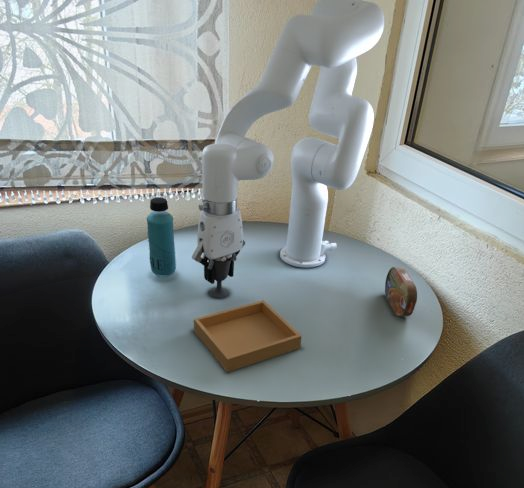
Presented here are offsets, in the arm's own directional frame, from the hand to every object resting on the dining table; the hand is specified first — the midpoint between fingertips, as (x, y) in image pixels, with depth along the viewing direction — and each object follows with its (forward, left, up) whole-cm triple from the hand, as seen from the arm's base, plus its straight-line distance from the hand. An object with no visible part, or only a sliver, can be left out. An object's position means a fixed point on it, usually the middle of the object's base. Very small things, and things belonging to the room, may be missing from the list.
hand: (219, 277), depth 123 cm
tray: (0, +20, -4) cm, 20 cm away
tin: (-40, +17, -5) cm, 44 cm away
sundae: (0, 0, -5) cm, 5 cm away
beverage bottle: (+11, -12, -5) cm, 17 cm away
